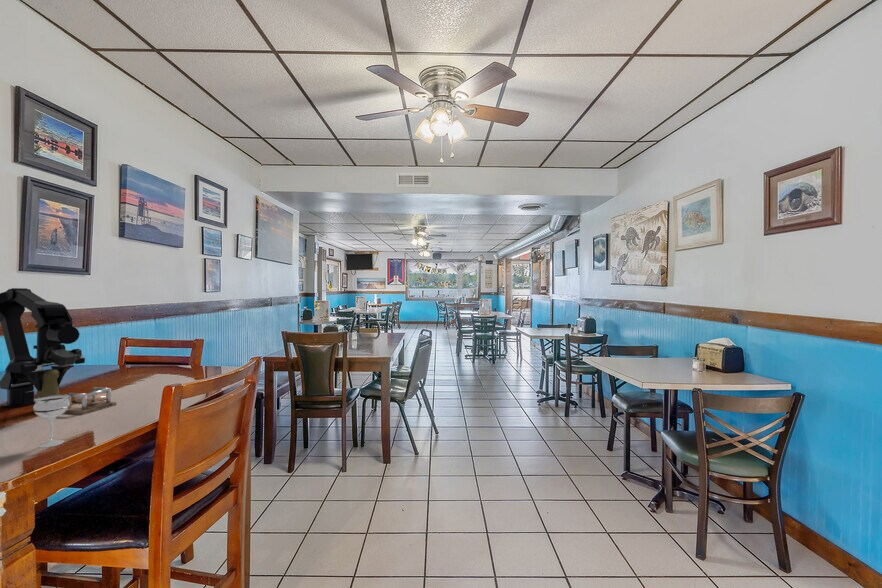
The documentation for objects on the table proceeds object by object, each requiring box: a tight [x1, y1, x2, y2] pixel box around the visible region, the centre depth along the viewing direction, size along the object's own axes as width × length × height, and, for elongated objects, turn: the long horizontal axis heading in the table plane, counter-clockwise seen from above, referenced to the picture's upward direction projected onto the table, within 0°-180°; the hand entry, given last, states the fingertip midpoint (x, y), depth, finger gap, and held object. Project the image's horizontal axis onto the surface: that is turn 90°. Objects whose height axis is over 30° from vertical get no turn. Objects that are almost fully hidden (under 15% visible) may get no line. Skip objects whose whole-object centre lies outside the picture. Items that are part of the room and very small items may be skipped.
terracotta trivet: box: [74, 393, 112, 404], centre depth 142 cm, size 10×10×1 cm
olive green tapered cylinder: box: [34, 368, 60, 405], centre depth 128 cm, size 6×6×11 cm
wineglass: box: [32, 393, 70, 449], centre depth 101 cm, size 7×7×12 cm
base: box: [63, 400, 117, 415], centre depth 130 cm, size 9×11×1 cm
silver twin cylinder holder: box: [66, 386, 112, 410], centre depth 130 cm, size 7×9×5 cm
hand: (48, 389), depth 128 cm, fingers closed on olive green tapered cylinder, 4 cm apart
